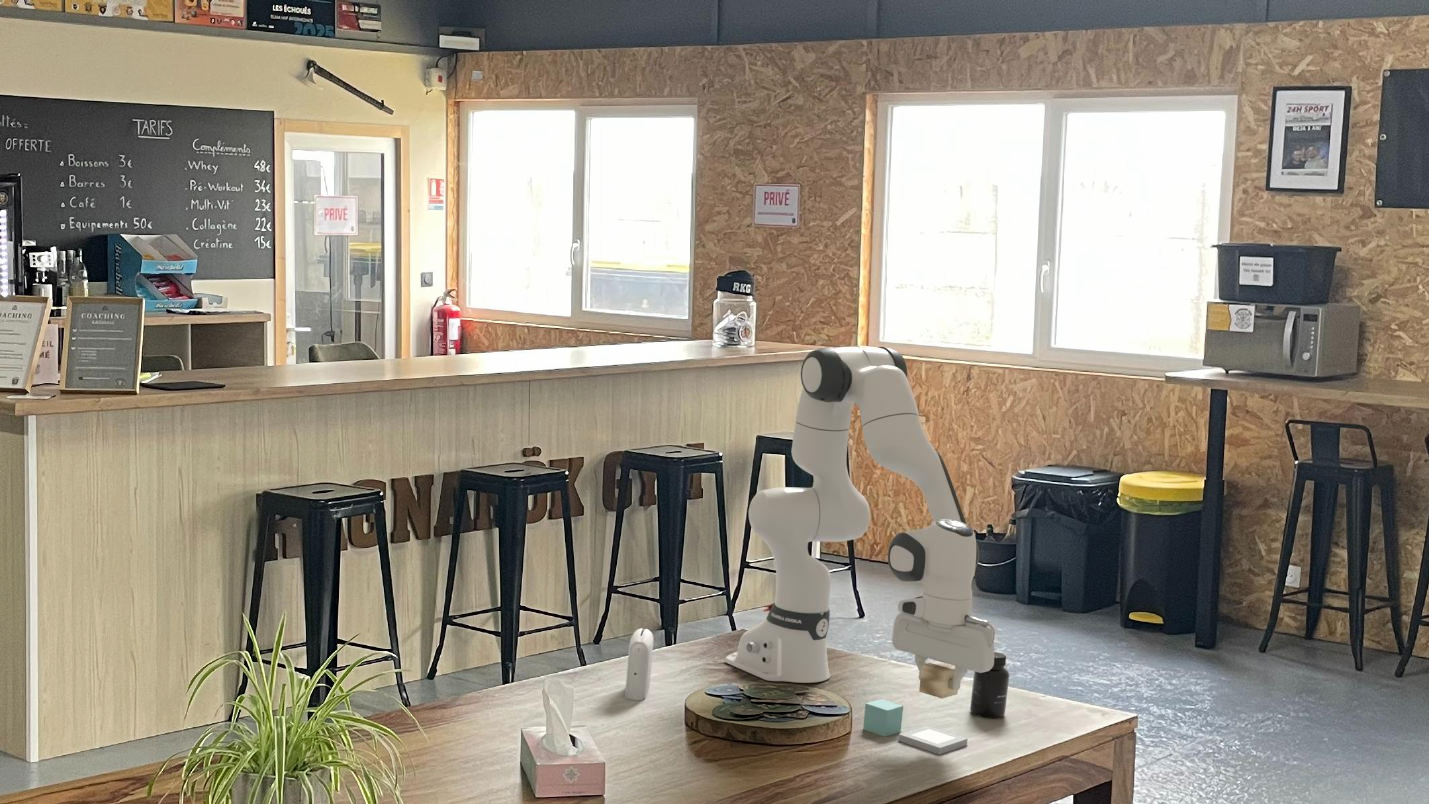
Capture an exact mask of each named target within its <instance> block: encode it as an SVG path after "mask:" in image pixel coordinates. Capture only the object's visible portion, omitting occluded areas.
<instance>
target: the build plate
mask: <svg viewBox="0 0 1429 804" xmlns="http://www.w3.org/2000/svg"><path fill="white" fill-rule="evenodd" d="M898 742H901V743H905V744H907V745H910V746H913V747H916V748H919V749H922V750H926V751H928V752H930V753H931V752H932V753H935V754H937V755H942V754H945V753H948V752H951V751H953V750H956V749H959V748H962V747H966V746H968V738H967V737H963V736H962V735H961V736H960V735H958V734H954V733H951V732H947V731H945V730H942V729H939V728H935V727H933V726H930V725H923V726H920V727H918V728H915V729H911V730H907V731H905V732H902V733H899V734H898Z"/></svg>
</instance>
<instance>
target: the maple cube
mask: <svg viewBox="0 0 1429 804" xmlns="http://www.w3.org/2000/svg"><path fill="white" fill-rule="evenodd" d="M956 674H957V672H955V666H954V665H951V664H947V663H943V662H940V661H936V660H935V661H933V662H928V663H926V664H924V665H922V668H921V678H920V680H919V687H918V689H919V690H918V692H919V693H922V694H925V695H929V696H932V697H935V698H939V699H946V698H949V697H952V696H956V695H958V691H959V689H958V690H953V689H950V688H948V685H949V683H948V682H949V679H952V678H954V677H955V675H956Z"/></svg>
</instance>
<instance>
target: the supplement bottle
mask: <svg viewBox="0 0 1429 804" xmlns="http://www.w3.org/2000/svg"><path fill="white" fill-rule="evenodd" d="M1006 665H1007V655H1005V654H1004V653H1001V652H997V651H994V666H993V667H992V668H991V669H990V670H989V671H986V672H982V673H979V672H975V671H973V678H972V679H973V682H972V689H971V696H970V698H971V699H970V704H969V707H970V708H969V710H970V712H971V713H972V715H975V716H978V717H980V716H981V718H987V719H1000V718H1003V717H1004V716H1005V714H1006V707H1007V697H1008V692H1009V690H1008V689H1009V683H1010V673H1009V671H1008V670H1007V669H1006V668H1005V666H1006Z"/></svg>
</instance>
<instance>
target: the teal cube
mask: <svg viewBox="0 0 1429 804" xmlns="http://www.w3.org/2000/svg"><path fill="white" fill-rule="evenodd" d="M864 708H865V709H864V716H863V717H864V718H863V728H862V729H863V730H864V731H868V732H870V733H874V734H877V735H879V736H883V737H888V736H891V735H894V734H897V733H900V732H902V722H903V721H902V720H903V711H904V705H902V704H898V703H895V702H892V701H888V700H886V699H883V698H880V699H877V700H874V701H873V700H872V701H869V702H866V703H865V706H864Z"/></svg>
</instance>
